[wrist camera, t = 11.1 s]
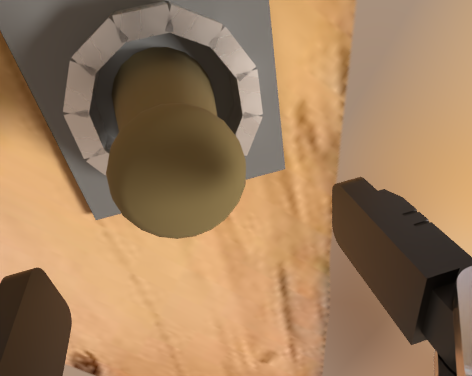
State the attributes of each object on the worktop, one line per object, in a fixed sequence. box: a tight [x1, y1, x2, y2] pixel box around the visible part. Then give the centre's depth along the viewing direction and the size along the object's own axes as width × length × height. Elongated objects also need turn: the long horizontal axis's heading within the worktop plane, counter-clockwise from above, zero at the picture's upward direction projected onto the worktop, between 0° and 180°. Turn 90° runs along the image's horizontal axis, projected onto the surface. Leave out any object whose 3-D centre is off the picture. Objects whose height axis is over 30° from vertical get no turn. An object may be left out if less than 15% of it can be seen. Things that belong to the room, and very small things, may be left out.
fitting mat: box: [0, 0, 285, 220], centre depth 21 cm, size 14×14×1 cm
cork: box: [106, 47, 246, 239], centre depth 16 cm, size 6×6×11 cm
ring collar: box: [63, 1, 263, 176], centre depth 20 cm, size 10×10×2 cm
